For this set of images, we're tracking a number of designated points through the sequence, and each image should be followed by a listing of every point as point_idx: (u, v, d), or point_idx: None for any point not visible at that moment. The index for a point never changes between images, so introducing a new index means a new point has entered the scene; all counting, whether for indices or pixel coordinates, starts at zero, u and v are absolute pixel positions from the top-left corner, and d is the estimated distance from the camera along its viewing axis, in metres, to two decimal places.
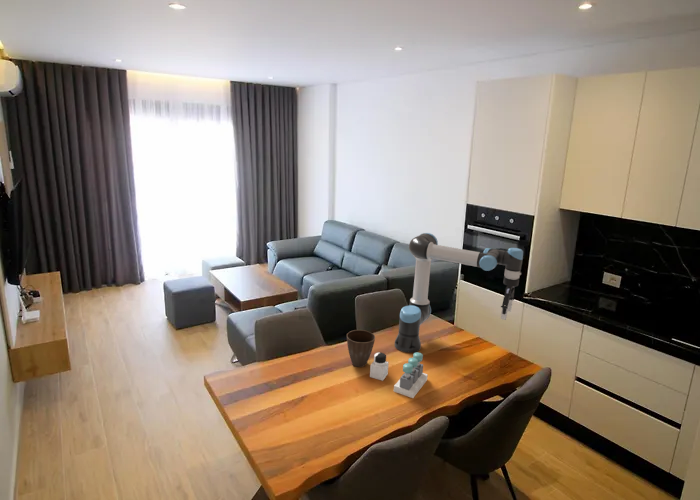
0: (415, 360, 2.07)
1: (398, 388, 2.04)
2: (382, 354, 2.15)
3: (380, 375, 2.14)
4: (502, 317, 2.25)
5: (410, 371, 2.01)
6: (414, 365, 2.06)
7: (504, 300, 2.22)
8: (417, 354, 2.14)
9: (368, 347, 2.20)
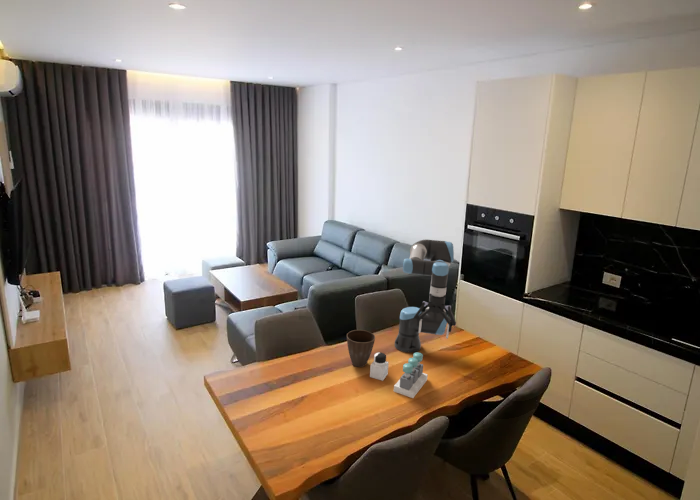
0: (415, 360, 2.07)
1: (398, 388, 2.04)
2: (382, 354, 2.15)
3: (380, 375, 2.14)
4: None
5: (410, 371, 2.01)
6: (414, 365, 2.06)
7: (418, 310, 2.14)
8: (417, 354, 2.14)
9: (368, 347, 2.20)
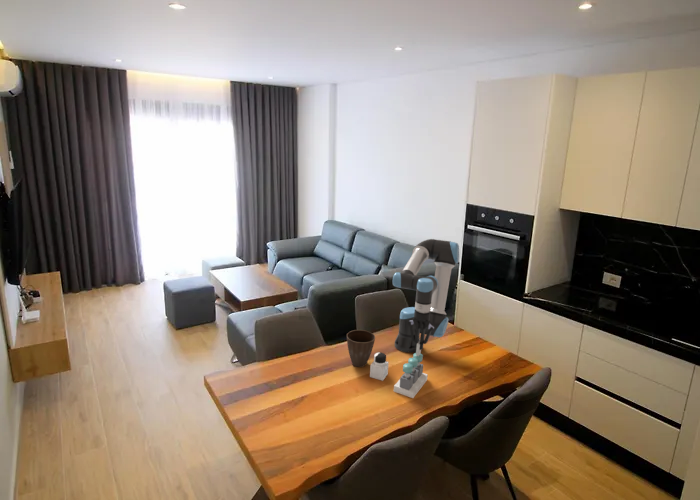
0: (415, 360, 2.07)
1: (398, 388, 2.04)
2: (382, 354, 2.15)
3: (380, 375, 2.14)
4: None
5: (410, 371, 2.01)
6: (414, 365, 2.06)
7: None
8: None
9: (368, 347, 2.20)
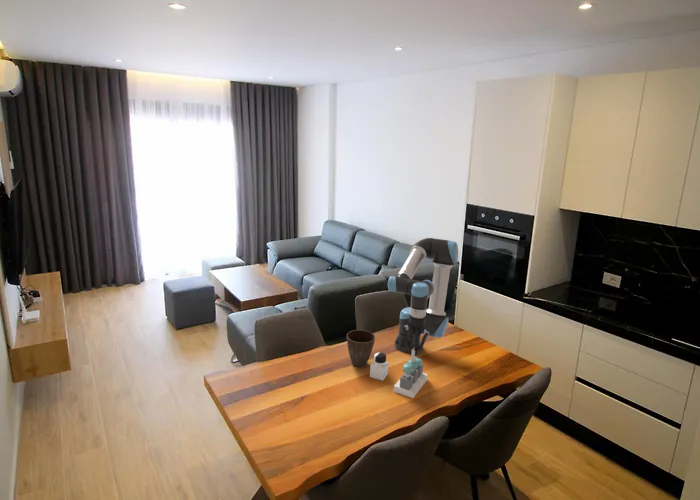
0: (415, 361, 2.08)
1: (398, 388, 2.04)
2: (382, 354, 2.15)
3: (380, 375, 2.14)
4: None
5: (410, 371, 2.01)
6: (414, 366, 2.06)
7: None
8: (416, 359, 2.14)
9: (368, 347, 2.20)
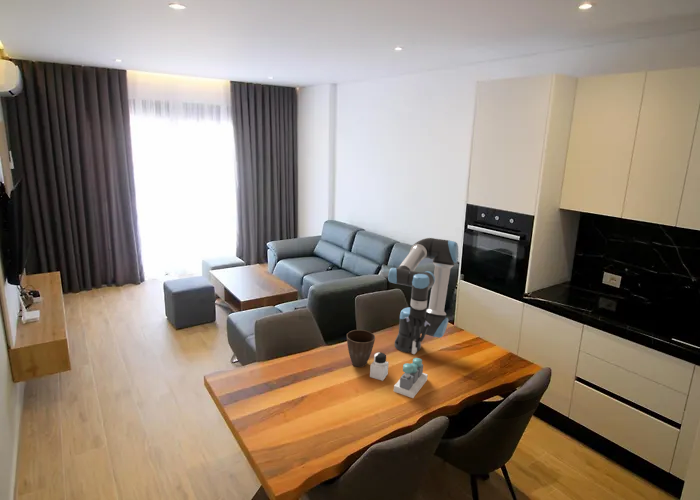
0: (414, 366, 2.08)
1: (398, 388, 2.04)
2: (382, 354, 2.15)
3: (380, 375, 2.14)
4: None
5: (410, 371, 2.01)
6: (413, 371, 2.07)
7: None
8: (416, 359, 2.14)
9: (368, 347, 2.20)
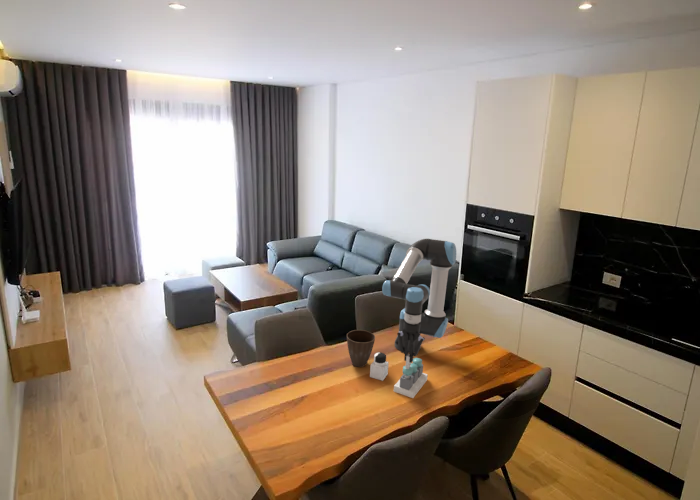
0: (414, 366, 2.08)
1: (398, 388, 2.04)
2: (382, 354, 2.15)
3: (380, 375, 2.14)
4: None
5: (410, 373, 2.01)
6: (413, 371, 2.07)
7: None
8: (416, 359, 2.14)
9: (368, 347, 2.20)
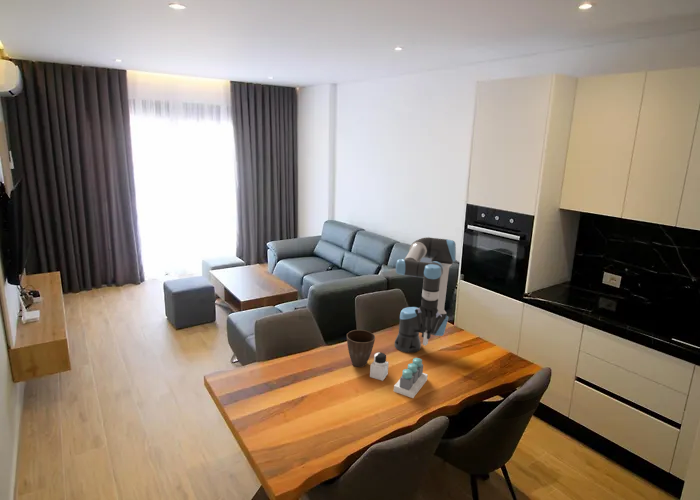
0: (414, 366, 2.08)
1: (398, 388, 2.04)
2: (382, 354, 2.15)
3: (380, 375, 2.14)
4: None
5: (409, 377, 2.01)
6: (413, 371, 2.07)
7: None
8: (416, 359, 2.14)
9: (368, 347, 2.20)
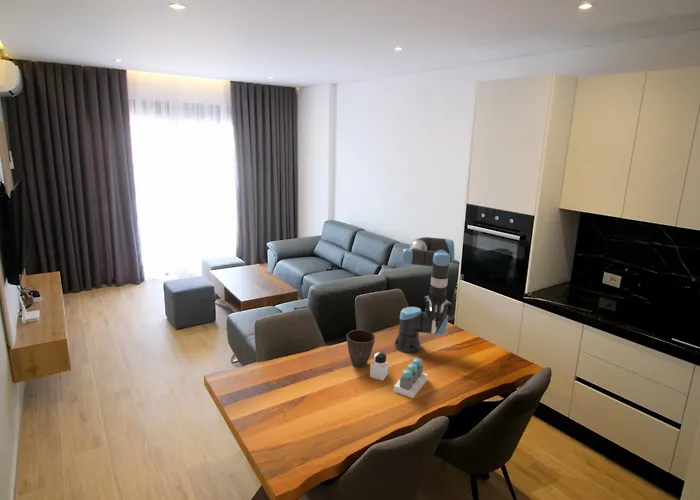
0: (414, 366, 2.08)
1: (398, 388, 2.04)
2: (382, 354, 2.15)
3: (380, 375, 2.14)
4: None
5: (409, 377, 2.01)
6: (413, 371, 2.07)
7: None
8: (416, 359, 2.14)
9: (368, 347, 2.20)
